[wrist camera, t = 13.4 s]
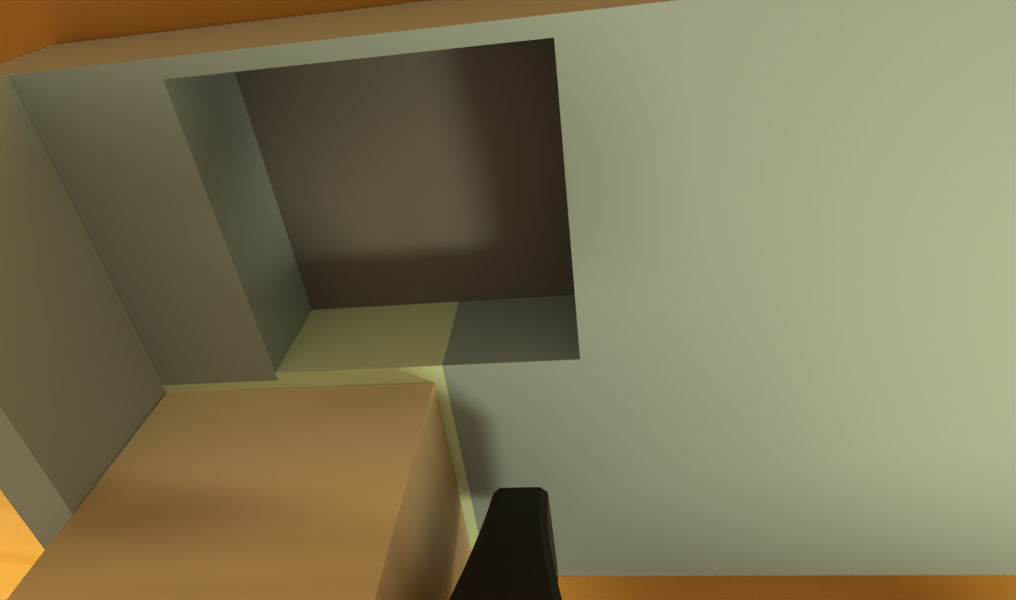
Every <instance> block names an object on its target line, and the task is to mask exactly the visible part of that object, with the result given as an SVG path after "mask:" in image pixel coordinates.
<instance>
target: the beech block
mask: <svg viewBox="0 0 1016 600" xmlns="http://www.w3.org/2000/svg"><path fill="white" fill-rule="evenodd" d="M470 554H471V547H470V542H469V538H468V533H467V529H466V524H465V519H464V515H463V510H462V506H461V501H460V497H459V492H458V488H457V483H456V478H455V474H454V469H453V465H452V460H451V456H450V451H449V446H448V442H447V437H446V433H445V428H444V424H443V419H442V415H441V410H440V405H439V401H438V396H437V392H436V387H435V383H416V384H386V385H357V386H327V387H298V388H268V389H239V390H210V391H183V392H167V393H166V394H165V396H164V397H163V398H162V400H161V401H160V402H159V403H158V405H157V406H156V407H155V409H154V410H153V411H152V412H151V414H150V415H149V416H148V418H147V419H146V420H145V422H144V423H143V424H142V425H141V427H140V428H139V429H138V431H137V432H136V433H135V434H134V436H133V437H132V438H131V440H130V441H129V442H128V444H127V445H126V446H125V447H124V449H123V450H122V451H121V453H120V454H119V455H118V456H117V458H116V459H115V460H114V462H113V463H112V464H111V466H110V467H109V468H108V469H107V471H106V472H105V473H104V475H103V476H102V477H101V478H100V480H99V481H98V482H97V484H96V485H95V486H94V488H93V489H92V490H91V491H90V493H89V494H88V495H87V497H86V498H85V499H84V500H83V502H82V503H81V504H80V506H79V507H78V508H77V510H76V511H75V512H74V513H73V515H72V516H71V517H70V519H69V520H68V521H67V522H66V524H65V525H64V526H63V528H62V529H61V530H60V532H59V533H58V534H57V535H56V537H55V538H54V539H53V541H52V542H51V543H50V544H49V546H48V547H47V548H46V550H45V551H44V552H43V554H42V555H41V556H40V557H39V559H38V560H37V561H36V563H35V564H34V565H33V566H32V568H31V569H30V570H29V572H28V573H27V574H26V576H25V577H24V578H23V579H22V581H21V582H20V583H19V585H18V586H17V587H16V588H15V590H14V591H13V592H12V594H11V595H10V596H9V598H8V599H7V600H449V599H450V596H451V594H452V592H453V590H454V588H455V586H456V584H457V582H458V580H459V578H460V576H461V574H462V572H463V570H464V567H465V565H466V563H467V560H468V558H469V556H470Z"/></svg>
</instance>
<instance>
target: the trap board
mask: <svg viewBox="0 0 1016 600" xmlns="http://www.w3.org/2000/svg"><path fill="white" fill-rule="evenodd" d="M416 383H435V387H436V392H437V396H438V401H439V405H440V410H441V415H442V419H443V424H444V428H445V433H446V437H447V442H448V446H449V451H450V456H451V460H452V465H453V469H454V474H455V478H456V483H457V488H458V492H459V497H460V501H461V506H462V510H463V515H464V519H465V524H466V529H467V533H468V538H469V542H470V547H471V551H472V549H473V547H474V544H475V542H476V540H477V537H478V535H479V532H480V530H481V527H482V524H483V522H484V519H485V516H486V514H487V511H488V508H489V505H490V502H491V499H492V496H493V493H494V492H495V491H496V490H498V489H499V488H516V487H541V488H542V489H544V490H545V491H547V492H548V496H549V504H550V512H551V520H552V528H553V536H554V544H555V552H556V560H557V569H558V576H815V575H1016V0H428V1H420V2H411V3H403V4H394V5H386V6H377V7H369V8H360V9H351V10H343V11H334V12H326V13H317V14H309V15H300V16H292V17H283V18H275V19H266V20H258V21H249V22H241V23H232V24H224V25H215V26H207V27H198V28H190V29H181V30H173V31H164V32H156V33H147V34H139V35H130V36H122V37H113V38H105V39H96V40H88V41H79V42H71V43H62V44H54V45H50V46H47V47H44V48H41V49H39V50H36V51H33V52H30V53H28V54H25V55H22V56H19V57H17V58H14V59H11V60H8V61H6V62H3V63H0V489H1V491H2V492H3V494H4V495H5V496H6V498H7V499H8V500H9V502H10V503H11V504H12V506H13V507H14V508H15V510H16V511H17V513H18V514H19V515H20V517H21V518H22V519H23V521H24V522H25V523H26V525H27V526H28V527H29V529H30V530H31V531H32V533H33V534H34V536H35V537H36V538H37V540H38V541H39V542H40V544H41V545H42V546H43V548H44V549H45V550H46V548H47V547H48V546H49V544H50V543H51V542H52V541H53V539H54V538H55V537H56V535H57V534H58V533H59V532H60V530H61V529H62V528H63V526H64V525H65V524H66V522H67V521H68V520H69V519H70V517H71V516H72V515H73V513H74V512H75V511H76V510H77V508H78V507H79V506H80V504H81V503H82V502H83V500H84V499H85V498H86V497H87V495H88V494H89V493H90V491H91V490H92V489H93V488H94V486H95V485H96V484H97V482H98V481H99V480H100V478H101V477H102V476H103V475H104V473H105V472H106V471H107V469H108V468H109V467H110V466H111V464H112V463H113V462H114V460H115V459H116V458H117V456H118V455H119V454H120V453H121V451H122V450H123V449H124V447H125V446H126V445H127V444H128V442H129V441H130V440H131V438H132V437H133V436H134V434H135V433H136V432H137V431H138V429H139V428H140V427H141V425H142V424H143V423H144V422H145V420H146V419H147V418H148V416H149V415H150V414H151V412H152V411H153V410H154V409H155V407H156V406H157V405H158V403H159V402H160V401H161V400H162V398H163V397H164V396H165V394H166V393H167V392H183V391H210V390H239V389H268V388H298V387H327V386H357V385H386V384H416Z"/></svg>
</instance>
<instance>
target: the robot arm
mask: <svg viewBox="0 0 1016 600" xmlns="http://www.w3.org/2000/svg"><path fill="white" fill-rule="evenodd" d="M449 600H562V599H561V595H560V591H559V587H558V569H557V560H556V552H555V544H554V536H553V528H552V520H551V512H550V504H549V496H548V492H547V491H545V490H544V489H542V488H541V487H516V488H499V489H498V490H496V491H495V492H494V493H493V496H492V499H491V502H490V505H489V508H488V511H487V514H486V516H485V519H484V522H483V524H482V527H481V530H480V532H479V535H478V537H477V540H476V542H475V544H474V547H473V549H472V551H471V554H470V556H469V558H468V560H467V563H466V565H465V567H464V570H463V572H462V574H461V576H460V578H459V580H458V582H457V584H456V586H455V588H454V590H453V592H452V594H451V596H450V599H449Z"/></svg>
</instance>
